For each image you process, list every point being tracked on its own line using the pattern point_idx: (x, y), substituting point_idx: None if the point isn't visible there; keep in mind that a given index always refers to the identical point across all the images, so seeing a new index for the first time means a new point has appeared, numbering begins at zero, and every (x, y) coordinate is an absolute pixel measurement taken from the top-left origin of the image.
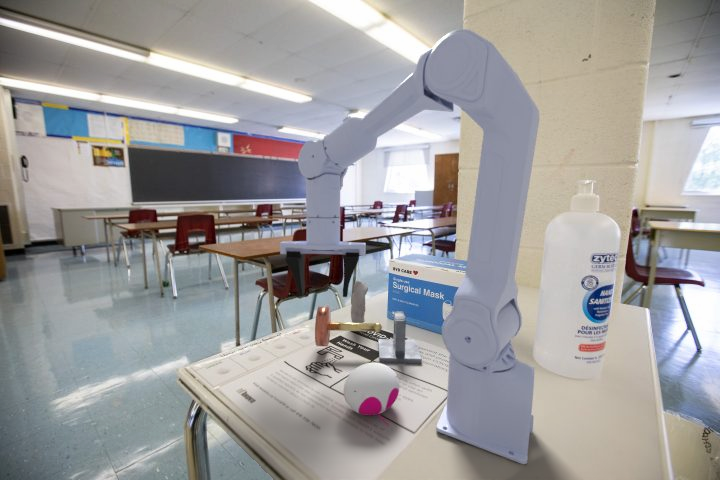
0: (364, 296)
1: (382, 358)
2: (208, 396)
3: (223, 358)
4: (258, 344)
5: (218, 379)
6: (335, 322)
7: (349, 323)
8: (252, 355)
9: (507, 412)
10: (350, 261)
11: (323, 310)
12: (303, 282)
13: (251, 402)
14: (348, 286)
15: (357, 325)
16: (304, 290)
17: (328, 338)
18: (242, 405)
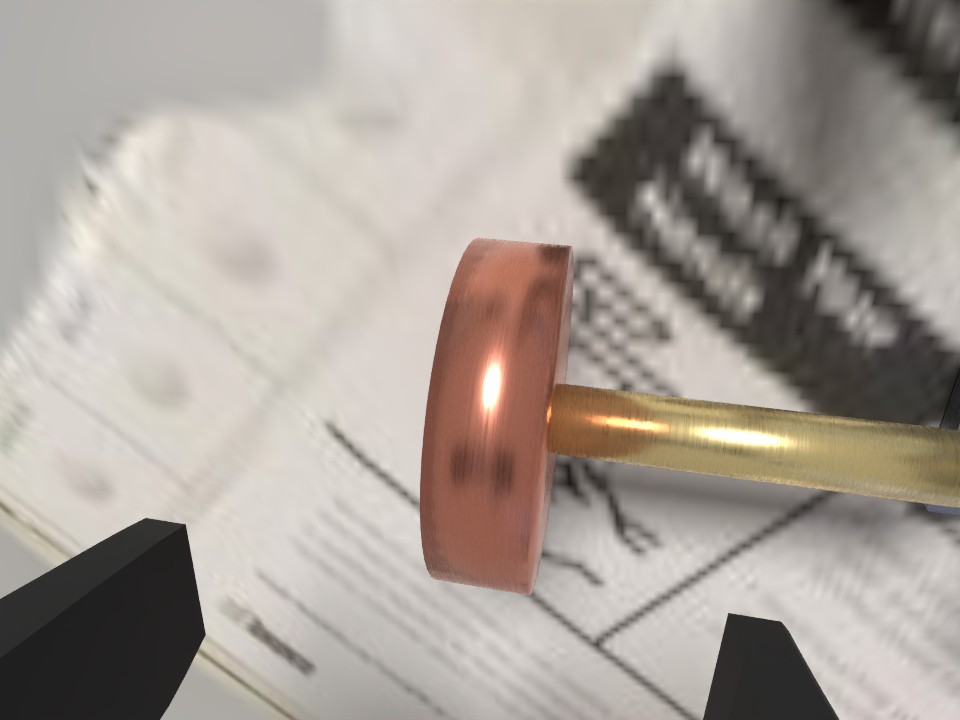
0: None
1: (946, 511)
2: None
3: (11, 374)
4: (93, 219)
5: (107, 536)
6: (616, 443)
7: (752, 472)
8: (133, 354)
9: None
10: None
11: (484, 560)
12: (88, 676)
13: (305, 673)
14: (827, 700)
15: (827, 489)
16: (168, 557)
17: (565, 358)
18: (282, 681)
